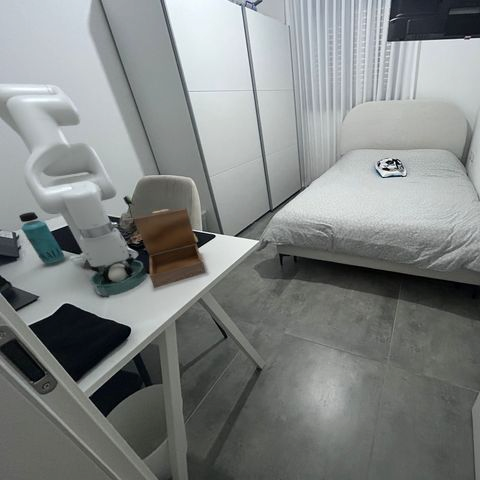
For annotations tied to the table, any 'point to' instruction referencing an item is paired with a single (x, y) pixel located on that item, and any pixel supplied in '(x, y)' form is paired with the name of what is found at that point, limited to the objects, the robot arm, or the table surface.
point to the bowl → (119, 287)
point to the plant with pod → (129, 223)
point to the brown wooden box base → (175, 265)
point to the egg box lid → (165, 230)
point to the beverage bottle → (41, 238)
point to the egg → (117, 272)
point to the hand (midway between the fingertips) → (120, 277)
